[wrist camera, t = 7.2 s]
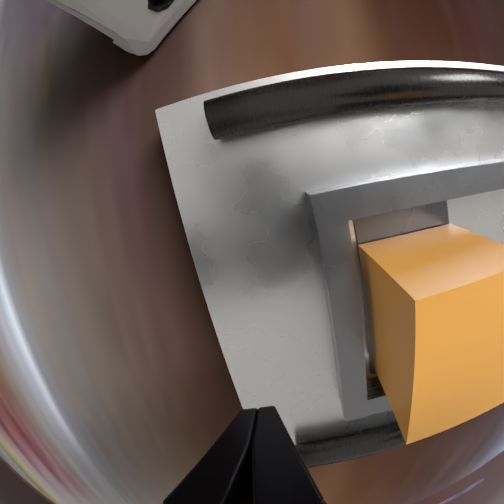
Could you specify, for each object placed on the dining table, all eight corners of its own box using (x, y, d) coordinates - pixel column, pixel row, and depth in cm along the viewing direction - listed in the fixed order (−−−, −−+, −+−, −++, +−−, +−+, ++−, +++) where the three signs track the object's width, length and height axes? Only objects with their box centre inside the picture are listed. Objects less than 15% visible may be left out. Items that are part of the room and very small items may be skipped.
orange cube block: (449, 223, 10) (535, 258, 5) (450, 333, 11) (508, 399, 6) (357, 244, 11) (415, 300, 6) (369, 358, 12) (406, 444, 7)
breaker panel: (559, 85, 9) (593, 80, 6) (563, 332, 13) (588, 352, 10) (172, 118, 12) (138, 102, 9) (265, 439, 16) (263, 483, 13)
